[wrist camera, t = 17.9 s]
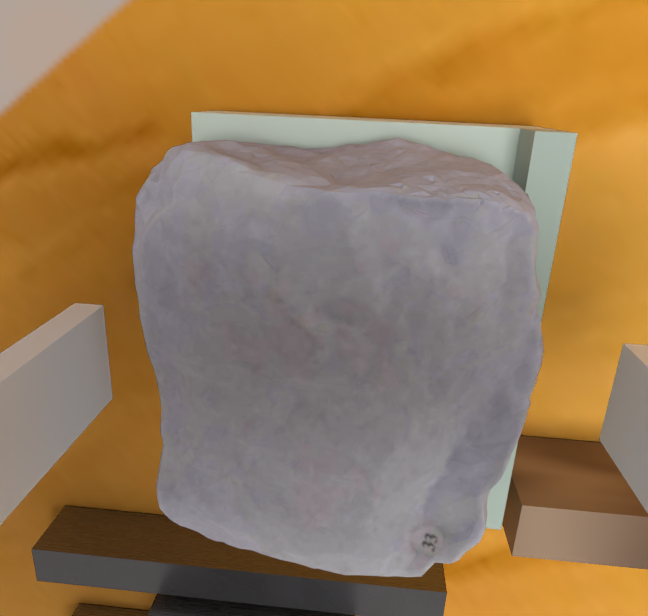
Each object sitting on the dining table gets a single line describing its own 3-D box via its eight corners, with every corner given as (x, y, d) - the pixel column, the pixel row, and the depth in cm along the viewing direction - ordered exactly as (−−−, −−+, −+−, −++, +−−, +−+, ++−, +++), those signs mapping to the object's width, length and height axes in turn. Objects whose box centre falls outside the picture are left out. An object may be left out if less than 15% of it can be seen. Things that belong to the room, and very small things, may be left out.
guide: (83, 628, 27) (54, 679, 24) (64, 505, 24) (31, 549, 22) (421, 667, 26) (425, 724, 23) (439, 542, 23) (446, 592, 21)
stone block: (530, 137, 15) (166, 127, 16) (601, 161, 11) (90, 147, 11) (476, 488, 20) (195, 474, 20) (511, 608, 15) (149, 585, 16)
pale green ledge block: (222, 432, 22) (191, 499, 18) (215, 110, 18) (172, 113, 14) (479, 454, 21) (500, 529, 18) (534, 125, 17) (577, 133, 14)
